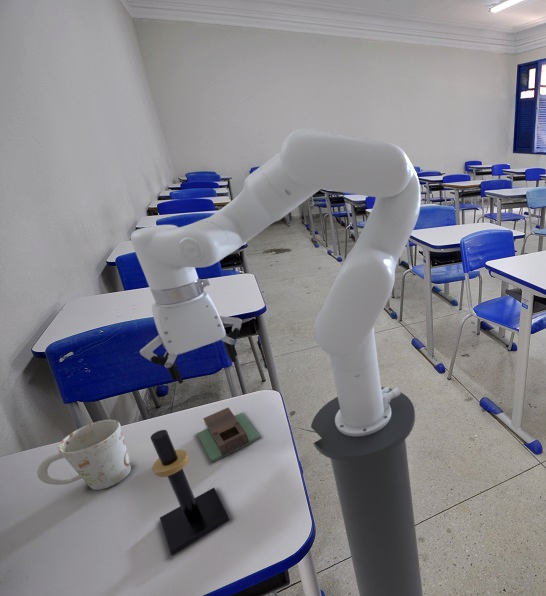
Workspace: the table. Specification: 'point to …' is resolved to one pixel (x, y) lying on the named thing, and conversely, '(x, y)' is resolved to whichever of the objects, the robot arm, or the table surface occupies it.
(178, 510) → the hanging post
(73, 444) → the mug
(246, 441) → the brown block with hole
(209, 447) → the mat
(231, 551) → the table surface
